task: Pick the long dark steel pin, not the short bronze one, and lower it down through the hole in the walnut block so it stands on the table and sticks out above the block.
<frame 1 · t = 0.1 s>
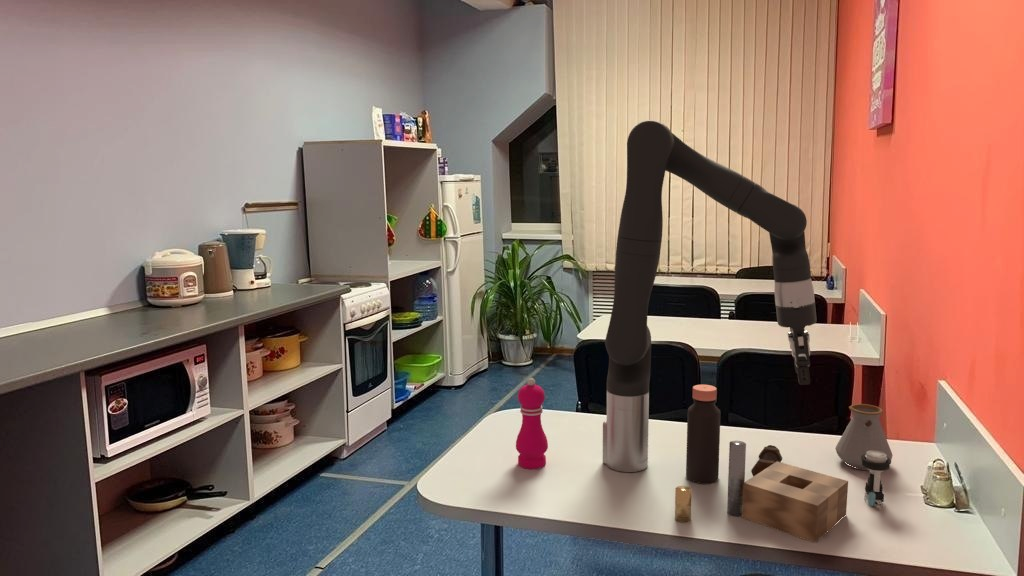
hand: (802, 378, 155), 22 cm above the table, tool pointing down, fingers open, 8 cm apart
hole block: (794, 516, 143), on the table
coffee pot: (863, 473, 162), on the table
bottle: (702, 478, 161), on the table
pepper mill: (532, 464, 169), on the table
push button: (873, 504, 148), on the table
long pin: (735, 512, 145), on the table
bolt: (769, 473, 164), on the table
short pin: (682, 518, 142), on the table
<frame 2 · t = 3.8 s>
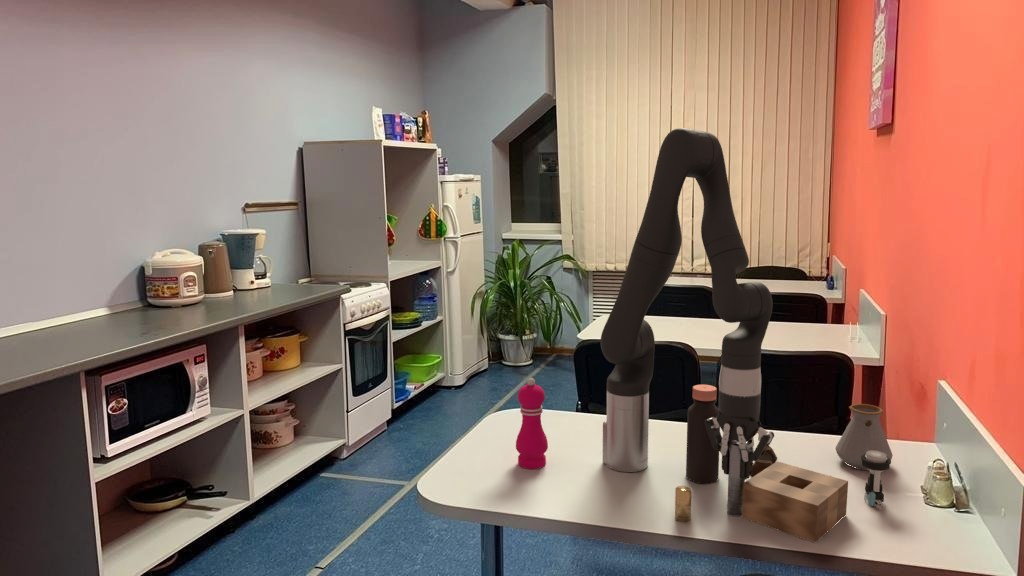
hand: (736, 475, 143), 8 cm above the table, tool pointing down, fingers closed on long pin, 3 cm apart
long pin: (735, 512, 145), on the table, touching gripper
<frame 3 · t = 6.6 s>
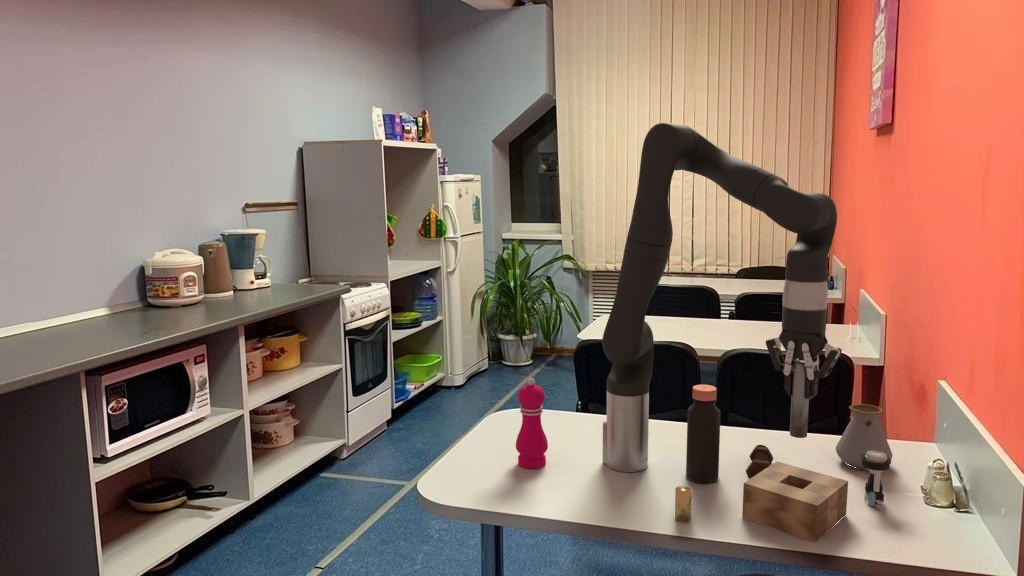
hand: (800, 395, 139), 24 cm above the table, tool pointing down, fingers closed on long pin, 3 cm apart
long pin: (798, 435, 140), point 16 cm above the table, touching gripper
when the fingers open (9 cm above the table, at t = 9.4 s): long pin drops 1 cm, resting in hole block.
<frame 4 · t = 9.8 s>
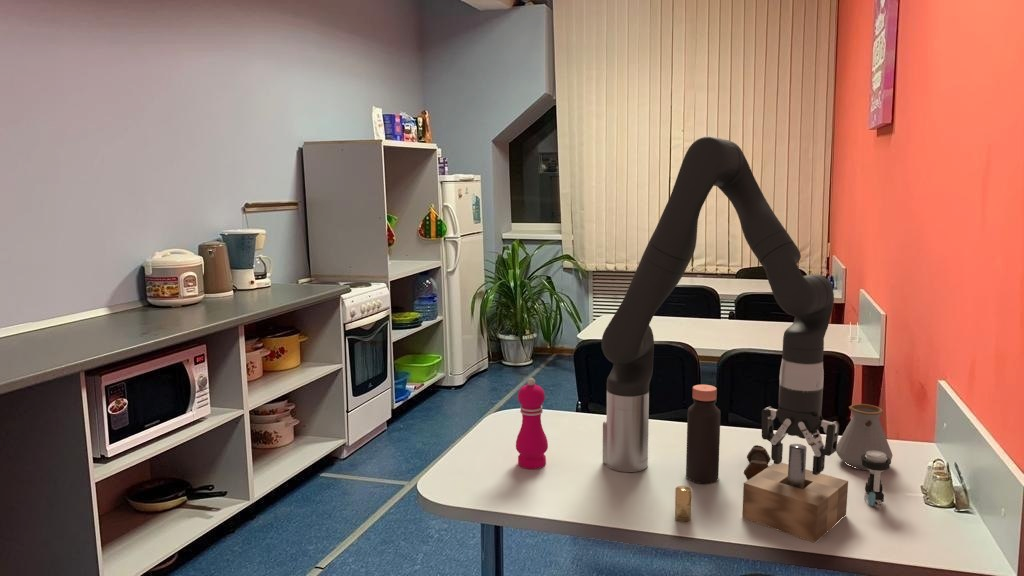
hand: (796, 467, 141), 10 cm above the table, tool pointing down, fingers open, 7 cm apart
long pin: (794, 516, 143), resting in hole block
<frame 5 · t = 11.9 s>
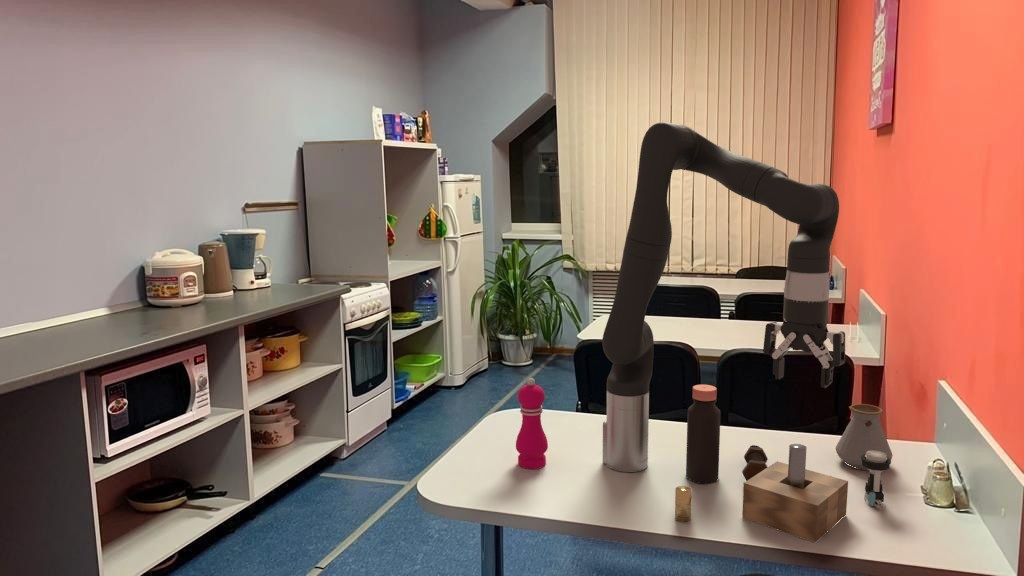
hand: (801, 382, 138), 26 cm above the table, tool pointing down, fingers open, 8 cm apart
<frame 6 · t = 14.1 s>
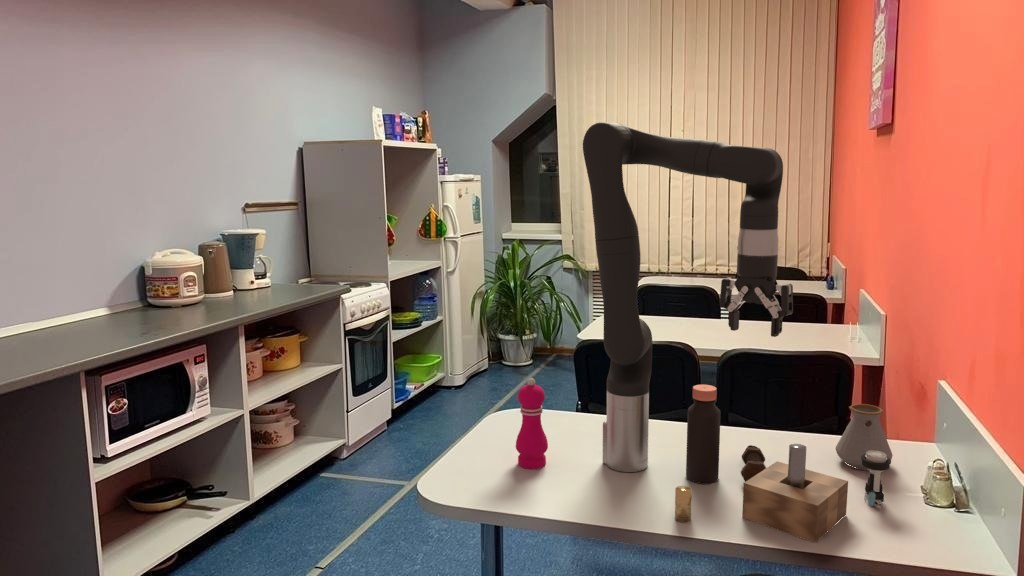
hand: (754, 332, 149), 33 cm above the table, tool pointing down, fingers open, 8 cm apart
at the end: long pin 0.0 cm off-centre on the hole block, point 0.0 cm above the hole block's base; long pin tilted 0°; short pin moved 0.0 cm from its start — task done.
